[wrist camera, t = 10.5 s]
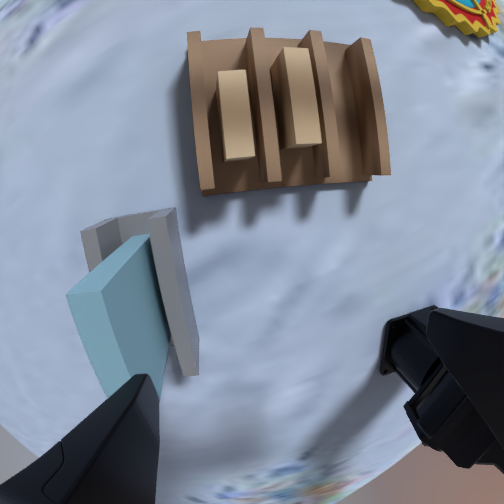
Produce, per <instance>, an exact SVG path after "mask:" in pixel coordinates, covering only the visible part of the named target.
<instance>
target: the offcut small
mask: <svg viewBox="0 0 504 504" xmlns="http://www.w3.org/2000/svg"><path fill="white" fill-rule="evenodd" d="M216 97H217V107H218V117H219V127H220V137H221V146H222V156H223V162H232V161H241V160H248V159H250V158H252V157H254V156H255V149H254V140H253V131H252V122H251V112H250V103H249V95H248V86H247V77H246V70H229V71H218V74H217V83H216Z"/></svg>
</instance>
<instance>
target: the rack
mask: <svg viewBox="0 0 504 504" xmlns="http://www.w3.org/2000/svg"><path fill="white" fill-rule="evenodd" d="M187 44H188V61H189V76H190V90H191V102H192V114H193V125H194V135H195V145H196V155H197V164H198V173H199V181H200V190H202V195H203V196H208V195H216V194H224V193H232V192H240V191H249V190H258V189H268V188H278V187H289V186H301V185H313V184H327V183H343V182H363V181H372V175H391V168H390V155H389V144H388V135H387V126H386V118H385V111H384V104H383V98H382V92H381V86H380V81H379V76H378V71H377V66H376V61H375V57H374V52H373V48H372V44H371V40H370V39H366V38H359V39H358V40H357V41H356V42H354V43H353V44H352V45H346V44H339V43H332V42H323V38H322V34H321V31H313V30H309V31H308V33H307V34H306V35H305V36H304V38H303V39H302V40H301V39H282V38H265V36H264V30H263V28H250V30H249V33H248V36H247V38H242V39H223V40H210V41H201V34H200V31H194V32H187ZM283 47H294V48H308V50H309V55H310V61H311V67H312V73H313V79H314V86H315V93H316V100H317V107H318V115H319V123H320V131H321V140H322V143H321V144H317V145H313V146H310V147H306V148H302V149H284V150H280V140H279V131H278V122H277V114H276V105H275V97H274V89H273V82H272V74H271V66H272V64H273V63H274V61H275V59H276V58H277V56H278V55H279V53H280V52H281V50H282V48H283ZM229 70H246V77H247V86H248V95H249V103H250V112H251V122H252V131H253V140H254V149H255V156H254V157H252V158H250V159H248V160H241V161H232V162H223V156H222V146H221V137H220V127H219V117H218V107H217V97H216V83H217V74H218V71H229Z"/></svg>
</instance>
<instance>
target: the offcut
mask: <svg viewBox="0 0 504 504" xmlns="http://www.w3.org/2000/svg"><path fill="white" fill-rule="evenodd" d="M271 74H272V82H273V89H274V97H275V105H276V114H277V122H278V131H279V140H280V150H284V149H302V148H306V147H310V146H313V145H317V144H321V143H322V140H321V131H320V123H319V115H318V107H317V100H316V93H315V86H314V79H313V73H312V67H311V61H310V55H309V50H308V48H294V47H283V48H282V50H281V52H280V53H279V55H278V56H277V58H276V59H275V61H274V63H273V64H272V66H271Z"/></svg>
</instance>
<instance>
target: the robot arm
mask: <svg viewBox="0 0 504 504" xmlns="http://www.w3.org/2000/svg"><path fill="white" fill-rule="evenodd" d="M392 324H393V325H392ZM391 325H392V326H391ZM394 371H395V372H396V373H397V374H398V375H399V376H400V377H401V378H402V379H403V380H404V382H405V383H406V384H407V385H408V386H409V387H410V388H411V389H412V390H413V392H414V393H415V394H414V395H413V397H412V398H411V399H410V400H409V401H407V402H406V403H405V405H404V408H405V410H406V414H407V416H408V417H409V419H410V421H411V423H412V425H413V427H414V429H415V431H416V433H417V435H418V437H419V439H420V440H421V442H422V444H423V445H424V446H430V447H431V448H432V449H434V450H437V451H444V452H445V453H446V454H447V455H448V456H449V458H450V459H451V460H452V461H453V462H454V463H455V464H456V466H458V467H462V468H471V467H472V466H473V465H474V464H481V465H482V464H484V465H494V466H496V467H497V468H498V469H499V470H500V471H501V472H502V473H503V474H504V318H499V317H492V316H486V315H480V314H474V313H468V312H462V311H456V310H450V309H445V308H438V307H437V306H435V305H433V306H430V307H428V308H427V307H426V308H423V309H420V310H417V311H414V312H411V313H409V314H406V315H403V316H400V317H397V318H393V319H391V320H389V321H388V323H387V328H386V335H385V342H384V348H383V355H382V360H381V366H380V373H381V374H382V375H386V374H389V373H392V372H394ZM159 444H160V436H159V397H158V393H157V391H156V389H155V386H154V384H153V382H152V379H151V377H150V375H149V374H147V373H143V374H135V375H133V376H132V377H131V378H130V379H129V380H128V381H127V382H126V383H124V384H123V385H122V386H121V387H120V388H119V389H118V390H117V391H116V392H114V393H113V394H112V395H111V396H110V397H109V398H108V399H107V400H105V401H104V402H103V403H102V404H101V405H100V406H99V407H98V408H96V409H95V410H94V411H93V412H92V413H91V414H90V415H89V416H87V417H86V418H85V419H84V420H83V421H82V422H81V423H79V424H78V425H77V426H76V427H75V428H74V429H73V430H71V431H70V432H69V433H68V434H67V435H66V436H65V437H63V438H62V439H61V441H59V442H58V443H57V444H55V445H54V446H53V447H52V448H51V449H50V450H48V451H47V452H46V453H45V454H43V455H42V456H41V457H40V458H38V459H37V460H36V461H34V462H33V463H32V464H30V465H29V466H27V467H26V468H25V469H23V470H22V471H20V472H19V473H17V474H16V475H14V476H13V477H11V478H10V479H8V480H7V481H5V482H4V483H2V484H1V485H0V504H155V495H156V480H157V468H158V456H159Z"/></svg>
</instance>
